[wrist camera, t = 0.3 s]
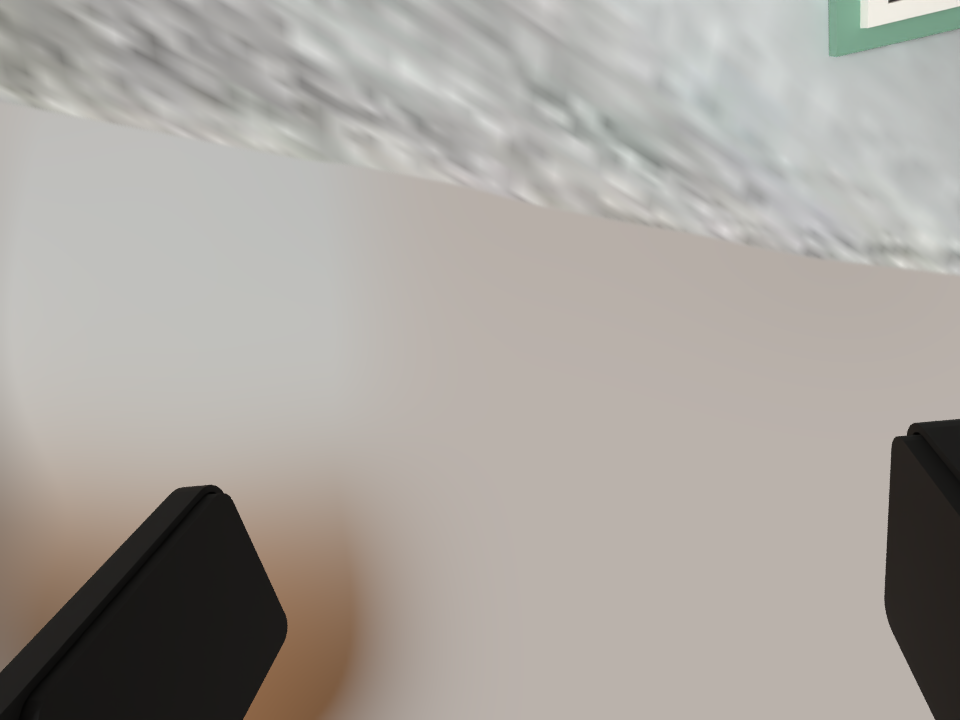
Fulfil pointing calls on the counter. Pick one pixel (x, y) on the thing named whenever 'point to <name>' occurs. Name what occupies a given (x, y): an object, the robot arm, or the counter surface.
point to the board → (887, 22)
